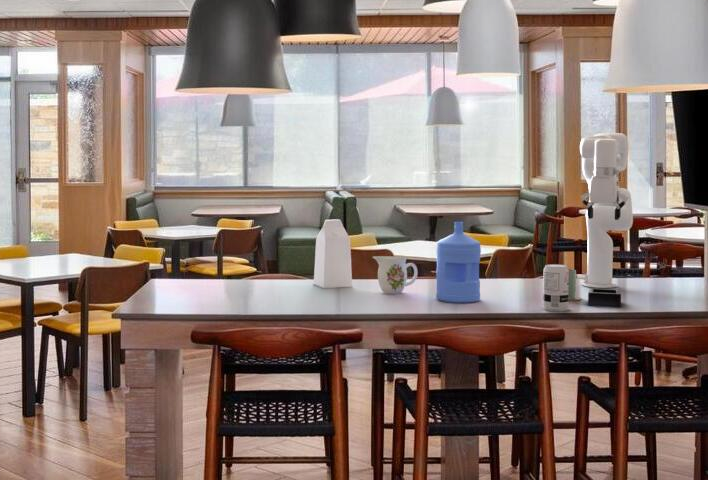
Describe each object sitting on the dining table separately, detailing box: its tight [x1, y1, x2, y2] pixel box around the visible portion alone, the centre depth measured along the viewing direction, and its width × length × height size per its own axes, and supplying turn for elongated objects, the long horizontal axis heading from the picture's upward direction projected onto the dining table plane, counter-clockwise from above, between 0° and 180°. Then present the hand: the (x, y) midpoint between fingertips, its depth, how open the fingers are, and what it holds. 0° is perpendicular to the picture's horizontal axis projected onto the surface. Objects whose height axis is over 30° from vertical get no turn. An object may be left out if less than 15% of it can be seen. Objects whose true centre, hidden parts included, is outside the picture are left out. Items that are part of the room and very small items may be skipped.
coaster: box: [568, 296, 582, 302], centre depth 352 cm, size 10×10×1 cm
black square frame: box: [587, 287, 622, 308], centre depth 340 cm, size 11×11×5 cm
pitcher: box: [372, 255, 419, 295], centre depth 365 cm, size 11×18×14 cm, turn 104°
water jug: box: [435, 221, 482, 304], centre depth 348 cm, size 16×16×28 cm
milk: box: [313, 219, 353, 289], centre depth 383 cm, size 12×12×26 cm
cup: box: [568, 268, 577, 299], centre depth 351 cm, size 6×6×10 cm
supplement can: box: [542, 263, 569, 312], centre depth 328 cm, size 8×8×15 cm
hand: (603, 219), depth 359 cm, fingers open, 9 cm apart
